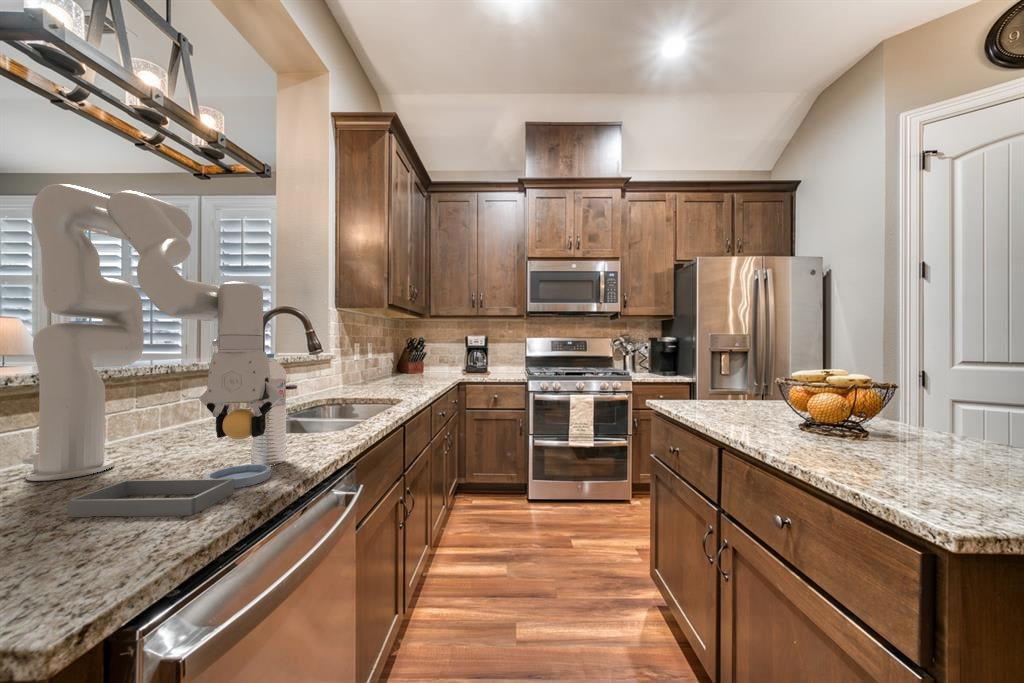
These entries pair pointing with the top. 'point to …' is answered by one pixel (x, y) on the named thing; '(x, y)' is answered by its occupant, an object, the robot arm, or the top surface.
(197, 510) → the shallow grey tray
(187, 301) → the robot arm
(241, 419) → the yellow-orange oval ball
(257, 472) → the dish
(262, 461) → the water bottle
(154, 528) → the top surface
